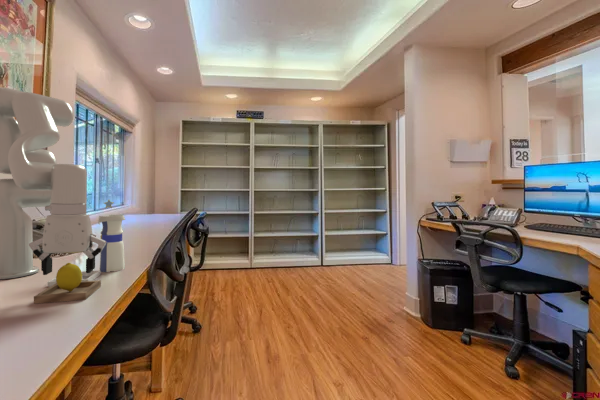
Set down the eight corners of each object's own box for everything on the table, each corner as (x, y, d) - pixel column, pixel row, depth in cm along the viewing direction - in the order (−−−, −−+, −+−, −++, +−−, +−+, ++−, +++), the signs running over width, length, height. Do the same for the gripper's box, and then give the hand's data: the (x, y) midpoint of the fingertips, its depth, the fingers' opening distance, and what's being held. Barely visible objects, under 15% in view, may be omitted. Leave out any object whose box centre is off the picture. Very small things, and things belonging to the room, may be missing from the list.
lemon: (68, 296, 76) (66, 266, 76) (51, 294, 78) (49, 265, 77) (88, 288, 82) (86, 260, 81) (72, 287, 83) (70, 259, 82)
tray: (33, 303, 73) (33, 296, 73) (56, 289, 83) (56, 283, 83) (85, 299, 76) (85, 292, 76) (100, 286, 86) (100, 280, 86)
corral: (47, 286, 85) (47, 281, 85) (64, 276, 95) (64, 272, 95) (88, 283, 88) (88, 279, 88) (100, 274, 98) (100, 270, 98)
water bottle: (91, 271, 102) (90, 199, 101) (113, 265, 110) (113, 199, 109) (109, 273, 100) (109, 200, 99) (130, 267, 108) (130, 199, 107)
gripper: (21, 210, 73) (21, 278, 73) (101, 211, 78) (100, 275, 79) (38, 208, 80) (38, 270, 81) (110, 209, 85) (109, 267, 86)
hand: (69, 272), depth 80 cm, fingers open, 9 cm apart
